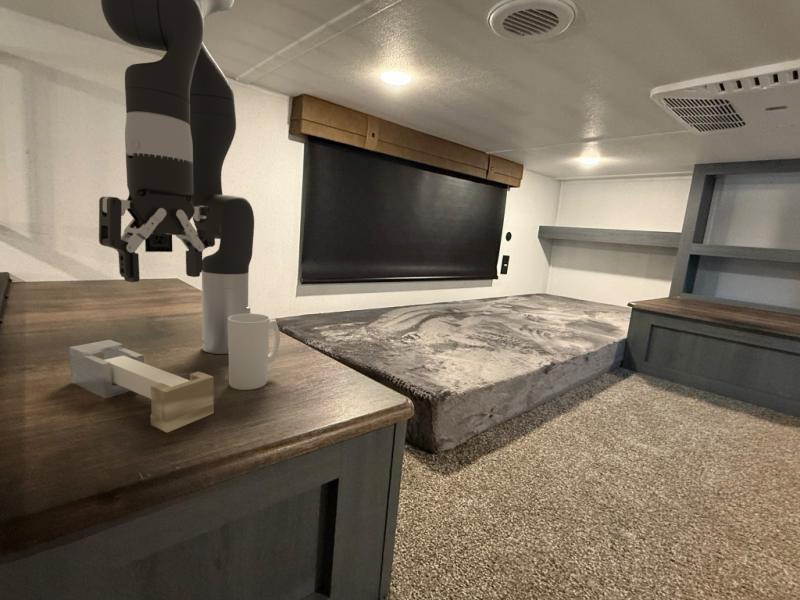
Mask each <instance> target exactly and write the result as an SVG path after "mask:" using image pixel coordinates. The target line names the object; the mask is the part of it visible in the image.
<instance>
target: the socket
mask: <svg viewBox="0 0 800 600" xmlns="http://www.w3.org/2000/svg"><path fill="white" fill-rule="evenodd" d="M189 380H190V381H189V382H186V383H183V384H179V385H176V386H173V387H170V386H168V385H165V384H163V383H159V384H156V385H152V386H151V399H150V400H151V402H150V404H151V406H150V407H151V414H150V426H152V427H154V428H156V429H159V430H160V431H162V432H164V433H169V432H172V431H174V430H177V429H179V428H182V427H185V426H186V425H189V424H191V423H193V422H196V421H199V420H201V419H203V418H205V417H208V416H210V415H212V414H215V413H214V411H215V404H214V395H215V394H214V375H210V374H206V373H205V372H201V371H195V372H191V373H190V374H189Z"/></svg>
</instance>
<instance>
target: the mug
mask: <svg viewBox="0 0 800 600" xmlns="http://www.w3.org/2000/svg"><path fill="white" fill-rule="evenodd" d="M270 330H271V331H272V332H273V335H274V337H273V338H274V340H273V345H272V348H271V350H270V351H269V349H270V348H269V346H270V345H269V344H270ZM280 343H281V332H280V328H279V326H278V323H277V320H276V319H275V318H274V319H271V317H270V316H269V315H267V314H260V313H250V314H237V315H232V316H230V317H228V349H229V354H228V381H229V383H228V384H229V387H231V388H232V389H235V390H239V391H240V390H242V391H249V390H256V389H257V390H258V389H260V388H262V387H264V386H265V385H267V383H268V368H269V364H270V363H274V362H275V361H276V358H277V354H278V351H279V348H280V345H281V344H280Z"/></svg>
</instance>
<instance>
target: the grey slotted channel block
mask: <svg viewBox="0 0 800 600" xmlns="http://www.w3.org/2000/svg"><path fill="white" fill-rule="evenodd" d="M123 345H124V344H123V343H120V342H117V341H115V340H112V339H106V340H99V341H95V342H90V343H84V344H78V345H74V346H72V345H71V346H69V347H68V348H69V359H70V373H71V374H70V375H71V383H72V384H74V385H75V386H78V387H80V388H82V389H84V390H86V391H89V392H90V393H93V394H95V395H96V396H99V397H100V398H103V399H104V400H105V399H108V398H112V397H116V396H120V395H122V394H125V393H129V392H133V391H132V390H129V389H127V388H125V387H123V386H120V385H118V384H116V383H113V382H112V380H111V363H110V362H108V361H105V360H106V359H110V358H115V357H119V356H126V357H129V358H131V359H134V360H137V361H139V362H142V363H145V361H144V354H141V353H138V352H136V351H133V350H131V349H128V348H126V347H123ZM97 353H103V359H102V358H100V357H97V356H95V355H94V354H97Z"/></svg>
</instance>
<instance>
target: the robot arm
mask: <svg viewBox="0 0 800 600" xmlns="http://www.w3.org/2000/svg"><path fill="white" fill-rule="evenodd" d="M234 2H235V0H100V4H101V9H102V13H103V17H104V19H105V20H106V23H107V25H108V26H109V28H110V29H111V30H112V32H113V33H114V34H115V36H117V37H119V39H121V40H122V41H123V42H125V43H126V44H129V45H131V46H134V47H139V48H142V49H143V48H144V49H150V50H155V51H161V52H165V54H164V55H163V56H162V58H161V59H159V60H157V61H151V62H140V63H139V62H138V63H134V64H133V63H132V64H130V65H129V66H128V67H126V69H125V72H124V90H125V91H124V92H125V93H124V94H125V109H126V110H125V112H126V115H125V126H124V127H125V128H124V146H125V148H124V149H125V167H126V170H125V171H126V183H127V184H126V187H127V190H128V197H127V199H120V198H119V197H117V196H115V197H114V196H101V197H99V200H98V203H99V205H98V242H99V244H100V245H101V246H104V247H108V248H111V249H114V250H116V252H117V253H118V268H119V271H118V272H119V275H120V276H121V277H123V279H124V281H126V282H130V283H139V281H140V263H139V261H140V259H139V258H140V257H139V253H138V252H136V251H137V250H138V248H140V246H141V245H142V243H143V242H144V241H146V240H147V239H148V238H149V237H150V236H151V235H157V236H158V235H159V236H163V235H170V236H171V235H172V236H173V235H174V236H175V237H176V238H177V239H179V240H180V241H181V242H182V244H183V245H184V246H185V248H186V249H187V250H185V273H186V276H187V277H190V278H191V277H192V278H199V277H201V311H202V312H201V322H202V323H201V325H202V326H201V327H202V328H201V330H202V331H201V333H202V334H201V335H202V337H201V340H202V345H201V346H202V351H204V352H206V353H208V354H209V353H210V354H217V355H218V354H219V355H229V349H228V317H230V316H232V315H237V314H251V307H250V306H249V274H250V273H249V271H250V270H249V269H250V263H251V261H252V259H253V250H254V248H253V246H254V235H255V234H254V231H255V215H254V209H253V208H252V205H251V203H250V202H249V201H248V200H247V199H246V198H244V197H243V196H239V195H230V194H229V195H227V194H226V195H225V194H223V188H222V187H223V184H222V171H223V165H224V162H225V160H226V157H227V155H228V152H229V150H230V148H231V145H232V143H233V140H234V137H235V135H236V130H237V118H236V107H235V97H234V95H235V94H234V90H233V89H232V86H231V85H230V82H229V81H228V79H227V77H226V75H225V74H224V72H223V71H222V70H221V68H220V67H219V65H218V63H217V62H216V61H215V59H214V58H213V56H212V55H211V53H210V51H209V50H208V49H207V47H206V46H205V43H204V42H203V40H204V35H205V21H204V18H206V17H208V16H210V15H212V14H215V13H217V12H223V11H228V10H230V9H231V8H232V7H233V5H234ZM126 211H127V212H128V213H129V215H130V216H131V217H132V220H131V221H130V222H129V223H128V225H127V226H126V227H125V228H124V229H123V234H122V217H123V216H125V214H126ZM191 219H192V220H193V224H194V226H195V227H194V226H193V224H192V223H191V222H190V221H191ZM216 240H219V247H218V249H217V251H215V252H213V253H212V254H208V255H206V256H204V257H203V253H204V250H206V249H207V248H213V247H214V246H215V245H216Z"/></svg>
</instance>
